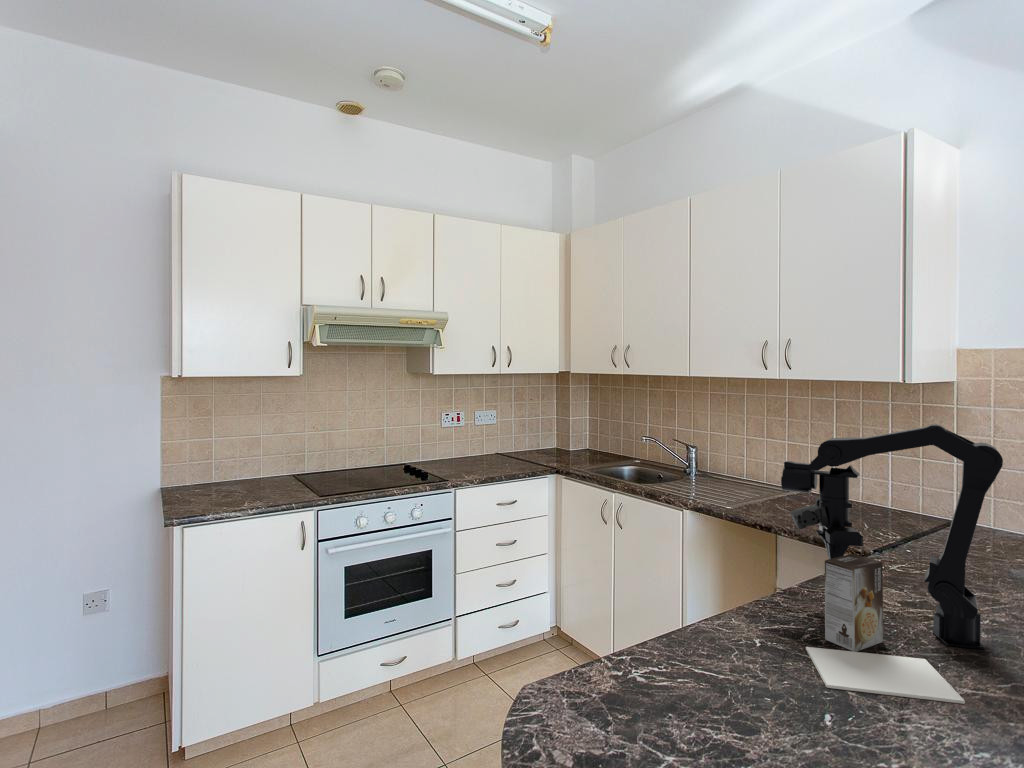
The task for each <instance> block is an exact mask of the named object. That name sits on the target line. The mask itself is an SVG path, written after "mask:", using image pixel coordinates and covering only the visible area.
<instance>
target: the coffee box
mask: <svg viewBox="0 0 1024 768" xmlns="http://www.w3.org/2000/svg"><path fill="white" fill-rule="evenodd" d="M883 563H884V562H883V561H880V560H877V559H873V558H870V557H867V556H866V557H865V556H862V555H858V554H854V553H850V554H846V555H845V554H844V555H843V556H841V557H837V558H832V559H829V558H828V559H825V560H824V640H825V641H828V642H830V643H832V644H835V645H837V646H840V647H842V648H845V649H847V650H848V651H852V652H860V651H862V650H865V649H868V648H871V647H873V646H877V645H878V644H881V643H883V642H884V601H883V600H884V595H883V593H884V592H883V591H884V586H883V585H884V584H883V583H884V581H883V580H884V578H883V577H884V575H883V574H884V573H883V572H884V571H883V568H884V567H883Z"/></svg>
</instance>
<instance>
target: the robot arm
mask: <svg viewBox="0 0 1024 768" xmlns="http://www.w3.org/2000/svg"><path fill="white" fill-rule="evenodd" d="M930 446H934V447H936V448H938V449H940V450H942V451H943V452H945V453H947V454H948V455H950V456H952V457H954V458H955V459H957V460H958V461H961V462H962V473H961V477H962V478H961V488H960V491H959V494H958V498H957V502H956V505H955V509H954V513H953V517H952V519H951V523H950V527H949V529H948V533H947V536H946V537H947V538H946V540H945V544H944V548H943V550H942V552H941V553H940V555H939V557H936V556H934V555H929V566H928V568H927V570H926V571H925V574H924V583H927V592H928V593H929V595H930V597H932V599H934V600H935V601H936V602H938V603H939V604H937V605H936V612H934V613H933V629H932V630H931V631H932V633H933V634H934V635H935V636H936V637H937V638H938V639H940V641H941V642H943V643H944V644H945V645H946V646H950V647H958V648H968V649H969V648H970V649H977V650H978V649H979V650H985V649H986V645H984V644H983V643H981V638H982V637H981V635H982V634H981V632H982V631H981V628H982V627H981V625H982V621H981V618H982V617H981V615H982V614H981V613H980V612H979V608H978V607H979V606H978V601H977V596H976V595H975V594H974V593H973V592H972V591H971V590H970V589H969V588H968V587H967V586H966V564H967V563H966V561H967V558H968V554H969V551H970V547H971V544H972V541H973V537H974V534H975V531H976V526H977V524H978V520H979V517H980V513H981V510H982V506H983V503H984V500H985V496H986V494H987V493H988V491H989V489H990V488H991V486H992V485H993V484H994V482H995V480H996V479H997V476H998V475H999V473H1000V471H1001V469H1002V468H1003V465H1004V464H1003V463H1004V460H1003V456H1002V454H1001V453H1000V452H999V450H998V449H997V448H996V447H995V446H993V445H992V444H990V443H986V442H976V443H975V442H973V441H972V440H970V439H968V438H965V437H963V436H962V435H959V434H957V433H955V432H952V431H950V430H949V429H947V428H945V427H944V426H943V425H941V424H935V423H934V424H933V423H932V424H929V425H927V426H923V427H922V426H921V427H917V428H913V429H911V428H910V429H907V430H900V431H895V432H889V433H885V434H878V435H877V434H876V435H874V436H873V435H872V436H868V437H867V436H866V437H832V438H829V439H827V440H824V441H823V442H821V443H820V445H819V446H818V448H817V456H816V457H815V458H814V459H813V460H810V462H809V463H808V462H807V463H806V462H795V461H792V460H786V461H784V462H783V469H782V476H781V477H780V480H781V482H780V484H781V490H782V491H785V492H795V493H804V494H811V493H812V490H817V487H818V488H819V489H818V491H819V492H818V494H819V497H816V499H815V503H814V504H812V505H806V506H804V507H799V508H796V509H793V510H790V516H791V518H792V520H793V523H794V526H795V527H797V529H798V530H803V529H806V528H807V527H812V526H815V525H819V527H818V529H816V530H814V531H815V533H816V534H817V535H818V536H819V537H820V538H821V539H822V540H823V542H824V545H825V549H826V553H827V556H828V557H827V558H828V559H832V558H837V557H841V556H845V554H846V552H847V550H848V549H849V547H863V546H864V536H863V535H862V534H861V533H860V532H859V531H857V530H856V529H855V528H854V527H853V522H852V521H851V520H850V509H852V508H853V503H852V502H850V478H853V479H858V477H859V476H860V475H861V474H860V473H859V472H858V471H857V470H856V469H854V467H853V466H852V465H851V464H850V465H849V466H847V467H846V468H843V467H839V466H842V465H845V464H849V463H851V462H854V461H857V460H860V459H863V458H865V457H868V456H872V455H873V456H874V455H879V454H885V453H891V452H897V451H903V450H910V449H916V448H922V447H930ZM826 467H830V468H829V470H822V469H824V468H826ZM818 475H819V479H818ZM818 481H819V482H818ZM818 483H819V484H818ZM818 485H819V486H818Z"/></svg>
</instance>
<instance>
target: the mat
mask: <svg viewBox="0 0 1024 768" xmlns="http://www.w3.org/2000/svg"><path fill="white" fill-rule="evenodd" d="M805 650H806V652H807V655H808V656H809V659H810V660H811V661H812V663H813V665H814V667H815V669H816V670H817V672H818V674H819V676H820V678H821V680H822V681H823V683H824V685H825V687H826V688H827V689H836V690H845V691H853V692H861V693H869V694H870V693H871V694H876V695H877V694H879V695H886V696H895V697H903V698H904V697H905V698H912V699H919V700H920V699H921V700H930V701H938V702H946V703H955V704H962V705H963V704H964V705H965V704H966V701H965V699H964V698H963V697H962V696H961V695H960V694H959V693H958V691H956V690H955V689H954V688H953V686H952V685H951V684H950V683H949V682H948V681H947V680H946V679H945V678H944V677H943V676H942V675H941V674H940V673H939V672H938V671H937V669H935V668H934V667H933V665H931V664H930V662H928V660H927V659H926V658H919V657H918V658H917V657H909V656H899V655H891V654H882V653H881V654H878V653H873V652H872V653H871V652H870V653H869V652H860V651H857V652H853V651H851V650H843V649H842V650H841V649H832V648H831V649H830V648H821V647H812V646H805Z"/></svg>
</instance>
